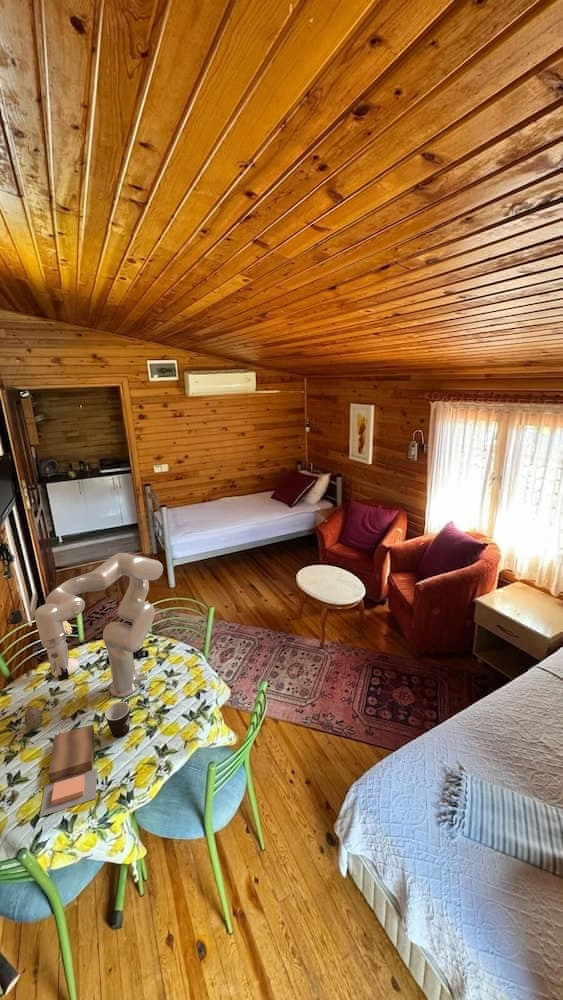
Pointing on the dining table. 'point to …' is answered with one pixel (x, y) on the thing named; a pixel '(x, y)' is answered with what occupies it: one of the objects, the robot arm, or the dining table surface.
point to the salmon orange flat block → (68, 789)
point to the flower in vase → (72, 663)
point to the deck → (72, 753)
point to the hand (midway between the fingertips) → (64, 678)
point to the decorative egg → (33, 718)
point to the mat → (88, 796)
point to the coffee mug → (118, 718)
